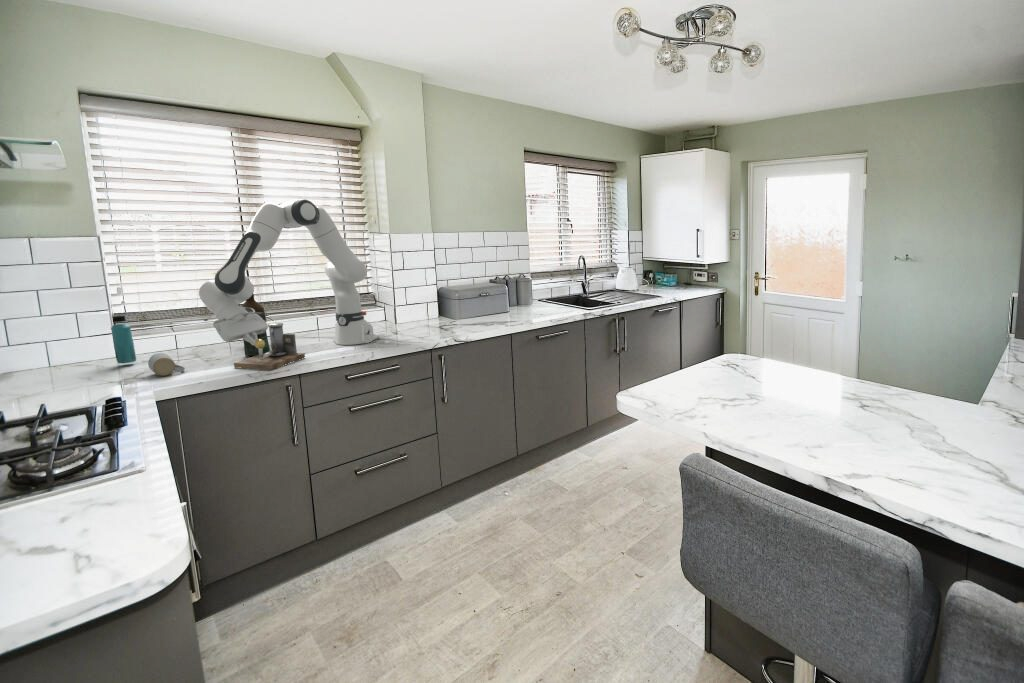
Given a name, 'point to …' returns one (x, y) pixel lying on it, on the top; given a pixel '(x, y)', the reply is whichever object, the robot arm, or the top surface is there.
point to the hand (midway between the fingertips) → (256, 343)
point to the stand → (273, 362)
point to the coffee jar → (251, 349)
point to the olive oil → (253, 305)
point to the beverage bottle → (123, 341)
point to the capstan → (273, 342)
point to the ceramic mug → (163, 364)
